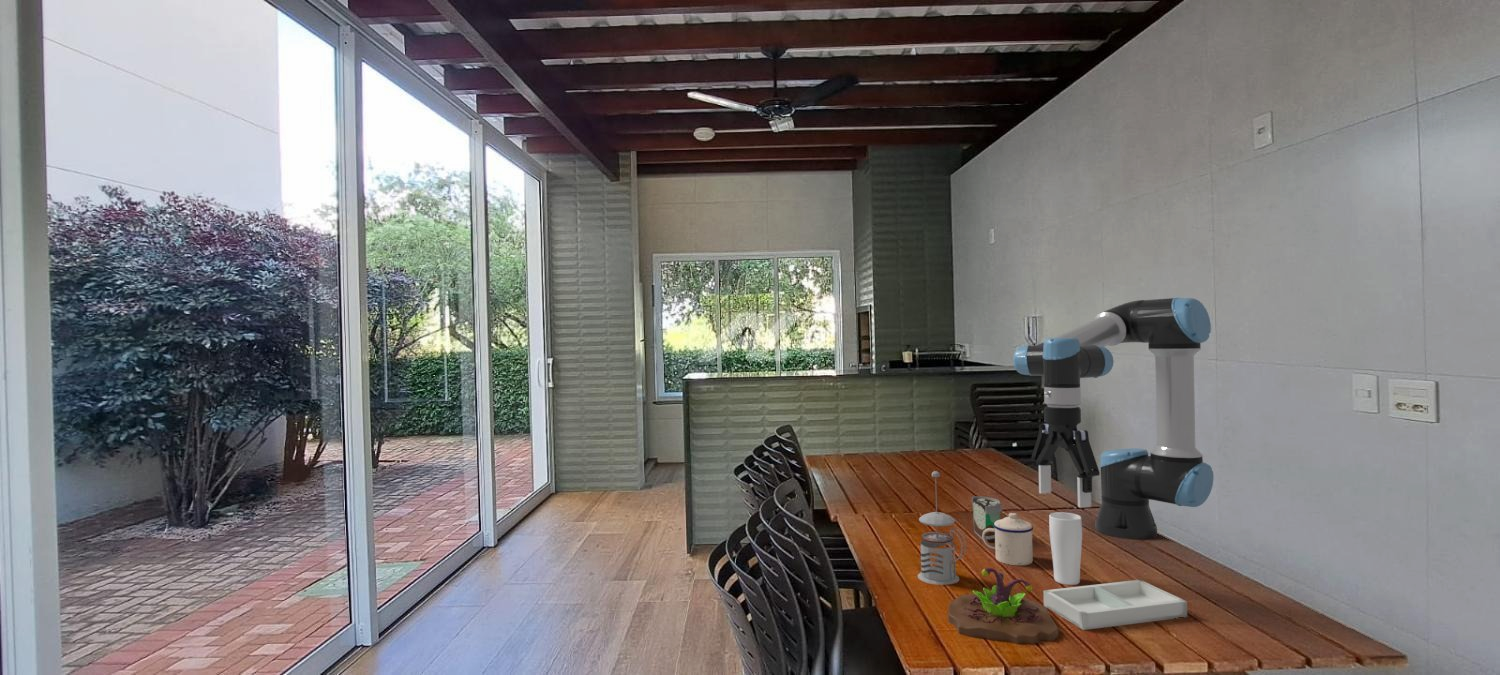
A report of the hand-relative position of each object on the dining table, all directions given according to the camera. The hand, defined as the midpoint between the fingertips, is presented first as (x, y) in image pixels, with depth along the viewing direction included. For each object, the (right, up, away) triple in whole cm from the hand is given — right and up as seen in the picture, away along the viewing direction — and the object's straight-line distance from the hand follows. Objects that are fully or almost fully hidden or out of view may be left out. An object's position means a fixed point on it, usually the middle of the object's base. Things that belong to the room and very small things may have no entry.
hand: (1064, 499), depth 151 cm
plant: (-22, -20, -20) cm, 36 cm away
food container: (-4, -19, +35) cm, 40 cm away
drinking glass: (+1, -19, 0) cm, 19 cm away
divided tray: (+2, -19, -17) cm, 25 cm away
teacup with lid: (-7, -19, +16) cm, 26 cm away
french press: (-26, -20, +4) cm, 33 cm away
